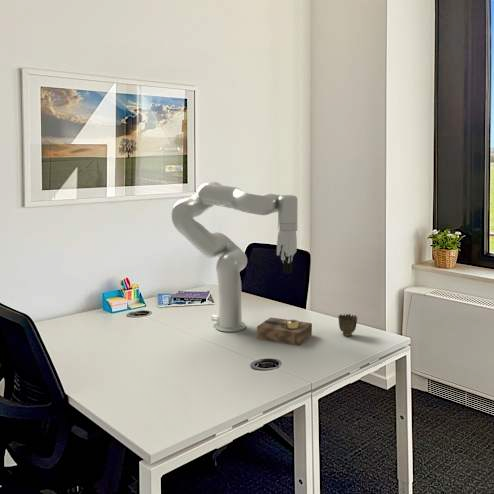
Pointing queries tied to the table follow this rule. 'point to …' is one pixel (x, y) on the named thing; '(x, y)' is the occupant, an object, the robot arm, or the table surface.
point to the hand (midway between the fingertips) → (287, 272)
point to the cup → (347, 324)
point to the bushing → (292, 324)
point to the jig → (284, 331)
